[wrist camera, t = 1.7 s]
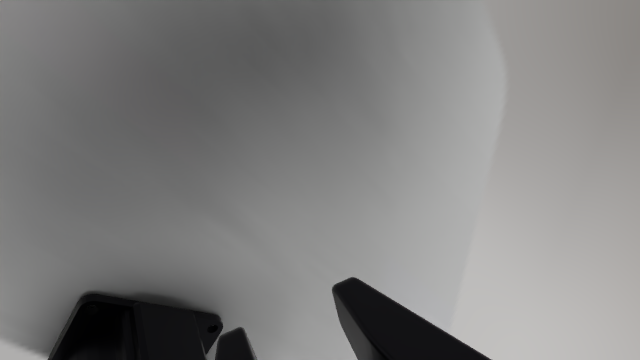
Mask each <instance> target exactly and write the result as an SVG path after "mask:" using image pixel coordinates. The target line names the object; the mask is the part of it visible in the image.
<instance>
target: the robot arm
mask: <svg viewBox="0 0 640 360" xmlns="http://www.w3.org/2000/svg"><path fill="white" fill-rule="evenodd" d="M332 293H333V297H334V301H335V305H336V309H337V313H338V317H339V320H340V323H341V326H342V328H343V330H344V332H345V334H346V336H347V338H348V340H349V342H350V344H351V346H352V348H353V351H354V353H355V355H356V357H357V359H358V360H491V359H489V358H488V357H486V356H484V355H483V354H481V353H480V352H478V351H476V350H475V349H473V348H471V347H470V346H468V345H466V344H465V343H463V342H461V341H460V340H458V339H456V338H455V337H453V336H452V335H450V334H448V333H447V332H445V331H443V330H442V329H440V328H438V327H437V326H435V325H433V324H432V323H430V322H428V321H427V320H425V319H423V318H422V317H420V316H418V315H417V314H415V313H414V312H412V311H410V310H409V309H407V308H405V307H404V306H402V305H400V304H399V303H397V302H395V301H394V300H392V299H390V298H389V297H387V296H385V295H384V294H382V293H380V292H379V291H377V290H376V289H374V288H372V287H371V286H369V285H367V284H366V283H364V282H362V281H361V280H359V279H357V278H354V277H351V278H348V279H346V280H344V281H342V282H339V283H337V284H335V285H334V286H333V287H332ZM88 306H96V307H94V308H87V307H88ZM211 325H213V326H211ZM209 326H211V327H209ZM222 329H223V323H222V320H221V318H220V317H219V316H218V315H214V314H208V313H203V312H197V311H191V310H185V309H179V308H173V307H168V306H162V305H156V304H150V303H144V302H138V301H133V300H127V299H121V298H115V297H109V296H103V295H98V294H90V295H86V296H84V297H82V298H81V299H80V300H79V302H78V303H77V305H76V307H75V309H74V311H73V313H72V315H71V317H70V319H69V321H68V322H67V324H66V326H65V328H64V330H63V332H62V334H61V336H60V338H59V339H58V341H57V343H56V345H55V347H54V349H53V351H52V353H51V355H50V356H49V358H48V360H207V359H206V354H207V353H208V351H209V350H210V348H211V347H212V345H213V343H214V342H215V340H216V339H217V337H218V336H219V334H220V333H221V331H222ZM215 360H257V358H256V356H255V353H254V351H253V348H252V346H251V344H250V341H249V339H248V337H247V334H246V332H245V330H244V329H243V328H241V327H239V328H236V329H234V330H232V331H229V332H227V333H225V334H223V335H221V336H220V337H219V339H218V342H217V349H216V356H215Z"/></svg>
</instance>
